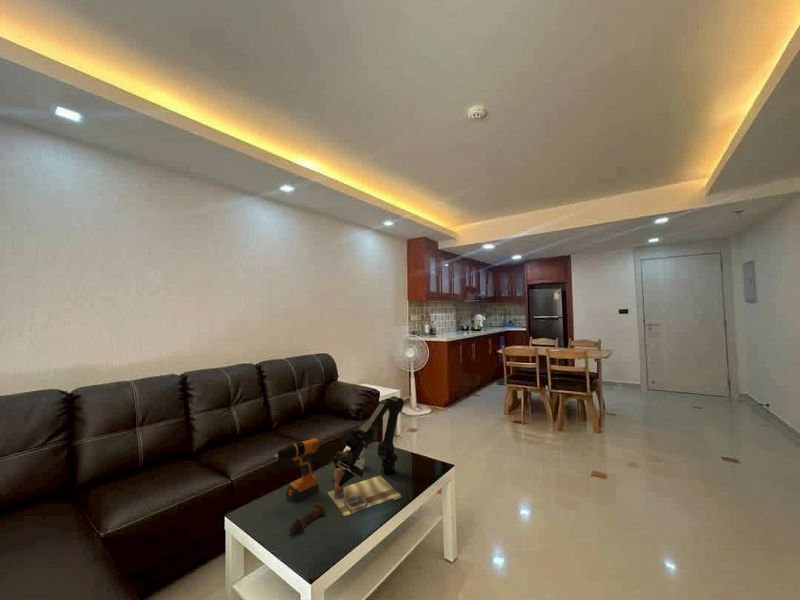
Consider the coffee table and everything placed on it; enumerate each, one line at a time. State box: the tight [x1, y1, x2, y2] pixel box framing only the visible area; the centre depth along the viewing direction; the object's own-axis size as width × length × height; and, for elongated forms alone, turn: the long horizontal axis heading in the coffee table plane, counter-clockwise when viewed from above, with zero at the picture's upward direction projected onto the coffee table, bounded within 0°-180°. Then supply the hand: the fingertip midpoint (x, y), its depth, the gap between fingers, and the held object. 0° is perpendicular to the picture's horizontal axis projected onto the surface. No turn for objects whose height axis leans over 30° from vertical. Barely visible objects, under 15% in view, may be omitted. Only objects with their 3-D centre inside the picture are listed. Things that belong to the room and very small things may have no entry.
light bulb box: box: [342, 445, 366, 470], centre depth 180 cm, size 11×7×11 cm, turn 84°
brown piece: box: [333, 467, 344, 499], centre depth 151 cm, size 4×4×12 cm
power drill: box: [273, 438, 320, 502], centre depth 153 cm, size 22×7×25 cm, turn 134°
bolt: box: [289, 502, 326, 534], centre depth 134 cm, size 6×5×15 cm
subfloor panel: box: [327, 475, 402, 517], centre depth 153 cm, size 28×21×3 cm
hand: (336, 484), depth 150 cm, fingers closed on brown piece, 4 cm apart
